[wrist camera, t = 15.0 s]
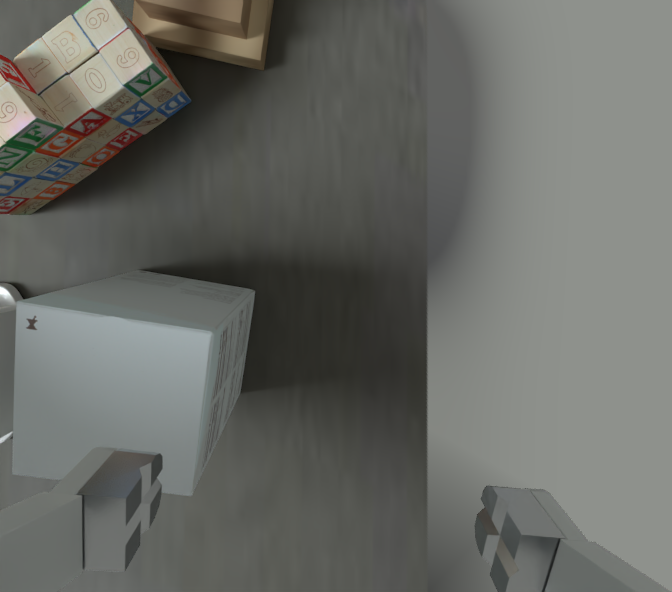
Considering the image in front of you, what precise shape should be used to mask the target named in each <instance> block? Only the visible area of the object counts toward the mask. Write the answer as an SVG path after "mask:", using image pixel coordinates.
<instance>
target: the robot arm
mask: <svg viewBox="0 0 672 592" xmlns="http://www.w3.org/2000/svg"><path fill="white" fill-rule="evenodd" d="M21 300H24V299H23V298H22V296H21V295H20V293H19V292H18V290H17V289H16V288H15V287H14V286H12V285H11V284H8V283H0V443H2V442H4V441H6V440H8V439H10V438H11V437H13V415H14V371H15V338H16V302H17V301H21ZM162 469H163V456H162V455H161V454H160V453H154V452H146V451H138V450H130V449H121V448H120V449H118V448H111V447H102V446H98V447H95V448H93V449H92V450H91V451H90V452H89V453H88V454H87V455H86V456H85V457H84V458H83V459H82V460H81V461H80V462H79V463H78V464H77V465H76V466H75V467H74V468H73V469H72V470H71V471H70V472H69V473H68V474H67V475H66V476H65V477H64V478H63V479H62V480H61V481H60V482H59V483H58V484H57V485H56V486H55V487H54V488H53V489H52V490H51V491H50V492H41V493H38V494H36V495H34V496H32V497H29V498H27V499H25V500H23V501H20V502H18V503H16V504H14V505H11V506H9V507H7V508H5V509H2V510H0V592H58V591H59V590H61V589H62V588H63V587H65V586H66V585H67V584H68V583H70V582H71V581H72V580H74V579H75V578H76V577H77V576H79V575H80V574H81V573H82V572H83V570H96V571H116V572H125V571H126V569H127V567H128V565H129V563H130V562H131V560H132V558H133V556H134V555H135V553H136V551H137V549H138V548H139V546H140V534H141V533H143V532H144V531H146V530H147V529H149V528H150V526H151V524H152V522H153V520H154V518H155V516H156V513H157V510H158V507H159V504H160V499H161V492H162V484H161V483H160V481H159V480H158V478H157V477H158V475H159V474H160V472H161V470H162ZM481 500H482V502H483V504H484V506H485V508H484V509H482V510H481V511H480V512H479V513H478V514H477V518H476V523H475V538H476V542H477V546H478V549H479V551H480V554H481V556H482V558H483V559H485V560H486V561H487V562H488V563H489V564H490V565H491V566H492V568H491V572H490V576H491V578H492V580H493V582H494V585H495V587H496V589H497V591H498V592H671V591H669V590H668V589H666V588H664V587H663V586H662V585H660V584H658V583H657V582H655V581H654V580H652V579H651V578H649V577H648V576H646V575H645V574H643V573H641V572H640V571H639V570H637V569H635V568H634V567H632V566H631V565H629V564H628V563H626V562H625V561H623V560H622V559H620V558H619V557H617V556H615V555H614V554H613V553H611V552H610V551H608V550H606V549H605V548H603V547H602V546H600V545H599V544H597V543H596V542H589V541H588V540H587V539H586V537H585V536H584V535H583V534H582V532H581V531H580V530H579V529H578V527H577V526H576V525H575V524H574V523H573V521H572V520H571V519H570V517H569V516H568V515H567V514H566V513H565V512H564V510H563V509H562V508H561V506H560V505H559V504H558V503H557V501H556V500H555V499H554V498H553V496H552V495H551V494H550V493H549V492H547V491H546V490H543V489H528V488H527V489H526V488H525V489H518V488H508V487H497V486H486V487H485V489H484V490H483V493H482V497H481Z"/></svg>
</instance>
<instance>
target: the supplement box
mask: <svg viewBox="0 0 672 592" xmlns="http://www.w3.org/2000/svg"><path fill="white" fill-rule="evenodd" d="M254 298H255V291H254V290H252V289H247V288H242V287H236V286H230V285H224V284H218V283H212V282H207V281H201V280H195V279H189V278H183V277H177V276H171V275H165V274H159V273H153V272H148V271H142V270H135V271H132V272H128V273H124V274H120V275H117V276H113V277H109V278H105V279H101V280H97V281H94V282H90V283H86V284H82V285H78V286H74V287H70V288H66V289H62V290H58V291H54V292H51V293H47V294H43V295H39V296H36V297H32V298H28V299H24V300H21V301H17V302H16V338H15V371H14V415H13V460H12V474H14V475H22V476H30V477H38V478H47V479H55V480H62V479H63V478H64V477H65V476H66V475H67V474H68V473H69V472H70V471H71V470H72V469H73V468H74V467H75V466H76V465H77V464H78V463H79V462H80V461H81V460H82V459H83V458H84V457H85V456H86V455H87V454H88V453H89V452H90V451H91V450H92V449H93V448H95V447H98V446H102V447H111V448H118V449H120V448H121V449H130V450H138V451H146V452H154V453H160V454H161V455H162V456H163V469H162V470H161V472H160V474H159V475H158V477H157V478H158V480H159V481H160V483H161V484H162V492H161V493H169V494H177V495H185V496H192V494H193V492H194V490H195V488H196V486H197V483H198V481H199V479H200V477H201V475H202V473H203V471H204V469H205V467H206V465H207V463H208V460H209V458H210V456H211V454H212V452H213V450H214V448H215V446H216V444H217V441H218V439H219V437H220V435H221V433H222V431H223V429H224V427H225V425H226V423H227V421H228V418H229V416H230V414H231V412H232V410H233V408H234V406H235V403H236V401H237V399H238V397H239V395H240V392H241V386H242V379H243V373H244V366H245V360H246V353H247V346H248V340H249V333H250V326H251V319H252V312H253V305H254Z"/></svg>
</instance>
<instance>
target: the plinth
mask: <svg viewBox="0 0 672 592" xmlns="http://www.w3.org/2000/svg"><path fill="white" fill-rule="evenodd" d="M273 3H274V0H134V8H133V20H132V23H133V24H134V25H135V26H136V27H137V28H138V29H139V30H140V31H141V32H142V34H143V35H144V36H145V37H146V38H147V39H148V40H149V41H150V42H151V43H152V44H153V45H154V46H155V47H158V48H163V49H167V50H172V51H176V52H181V53H185V54H190V55H195V56H199V57H204V58H208V59H213V60H217V61H222V62H226V63H231V64H236V65H240V66H245V67H249V68H254V69H258V70H263V71H264V67H265V60H266V52H267V45H268V38H269V31H270V24H271V17H272V10H273Z"/></svg>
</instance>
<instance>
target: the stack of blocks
mask: <svg viewBox="0 0 672 592" xmlns="http://www.w3.org/2000/svg"><path fill="white" fill-rule="evenodd" d="M190 102H191V99H190V98H189V96H188V95H187V93H186V92H185V90H184V89H183V87H182V86H181V84H180V83H179V81H178V80H177V78H176V77H175V76H174V74H173V72H172V71H171V69H170V68H169V66H168V65H167V63H166V62H165V60H164V59H163V57H162V56H161V54H160V53H159V52H158V50H157V49H156V48H155V46H154V45H153V44H152V43H151V42H150V41H149V40H148V39H147V38H146V37H145V36H144V35H143V34H142V32H141V31H140V30H139V29H138V28H137V27H136V26H135V25H134V24H133V23H132V22H131V21H130V20H129V19H128V18H127V17H126V16H125V14H124V13H123V12H122V10H121V9H120V8H119V7H118V6H117V5H116V4H115V3H114V2H113V1H112V0H90V1H89V2H88V3H86V4H85V5H84V6H82V7H81V8H80V9H79V10H77V11H76V12H75V13H74V15H69V16H68V17H67V18H65V19H64V20H63V21H61V22H60V23H59V24H57V25H56V26H55V27H54V28H52V29H51V30H50V31H48V32H47V33H46V34H44V35H43V37H42V38H39V39H37V40H36V41H35V42H34V43H32V44H31V45H30V46H28V47H27V48H26V49H25V50H24V51H22V52H21V53H20V54H19V55H17V56H16V57H15V59H14V60H13V62H11V60H9V59H8V58H6V57H4V56H2V55H0V214H9V215H30V214H32V213H34V212H35V211H37V210H38V209H39V208H41V207H42V206H44V205H45V204H47V203H48V202H50V201H51V200H54V199H55V198H57V197H58V196H60V195H61V194H63V193H64V192H65V191H67V190H68V189H70V188H71V187H73V186H74V185H75V184H77V183H78V182H80V181H81V180H83V179H84V178H86V177H87V176H89V175H90V174H91V173H93V172H94V171H96V170H97V169H98V167H99V166H100V165H102V164H103V163H105V162H106V161H107V160H109V159H110V158H112V157H113V156H115V155H116V154H117V153H119V152H120V150H122V149H123V148H125V147H126V146H128V145H129V144H131V143H132V142H133V141H135V140H136V139H138V138H139V137H141V136H142V135H143V134H144V135H145V134H147V133H148V132H150V131H151V130H152V129H154V128H155V127H157V126H158V125H159V124H161V123H162V122H164V121H165V120H166V119H167V118H168V117H170V116H172V115H173V114H175V113H176V112H178V111H179V110H180V109H182V108H183V107H184V106H186V105H187V104H189V103H190Z"/></svg>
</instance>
